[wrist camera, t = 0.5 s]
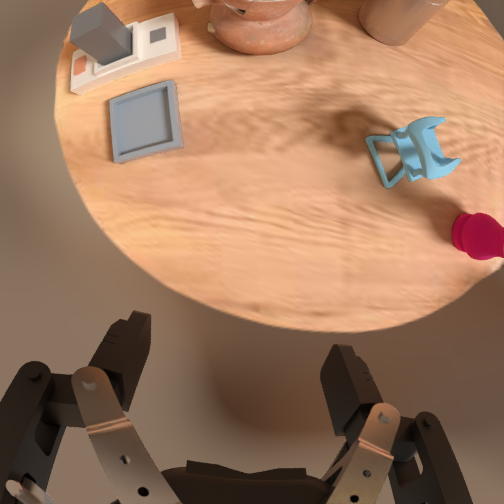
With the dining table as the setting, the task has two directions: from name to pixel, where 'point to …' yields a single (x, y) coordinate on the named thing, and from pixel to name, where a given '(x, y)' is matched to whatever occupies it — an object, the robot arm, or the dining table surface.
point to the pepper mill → (478, 236)
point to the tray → (145, 122)
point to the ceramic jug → (259, 24)
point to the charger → (101, 35)
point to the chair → (415, 152)
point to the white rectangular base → (143, 55)
